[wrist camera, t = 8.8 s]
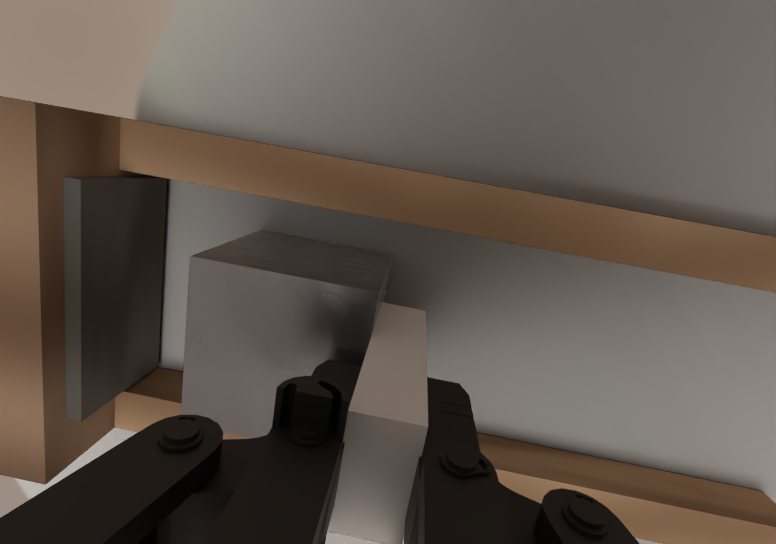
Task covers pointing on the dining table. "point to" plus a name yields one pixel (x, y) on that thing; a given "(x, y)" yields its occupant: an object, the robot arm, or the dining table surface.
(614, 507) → the oak track
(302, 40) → the dining table surface
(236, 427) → the block
